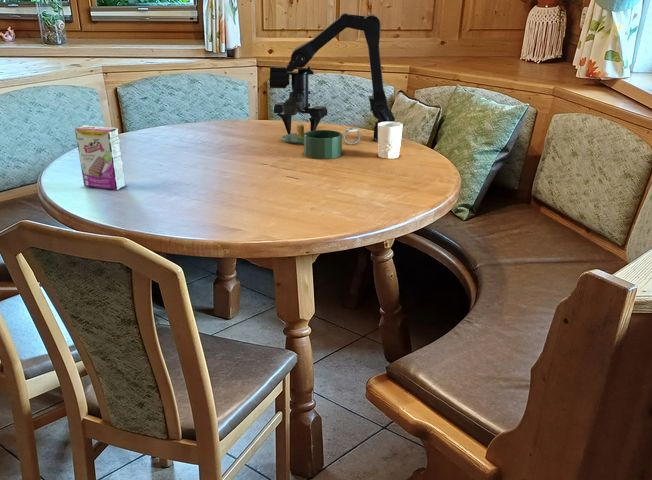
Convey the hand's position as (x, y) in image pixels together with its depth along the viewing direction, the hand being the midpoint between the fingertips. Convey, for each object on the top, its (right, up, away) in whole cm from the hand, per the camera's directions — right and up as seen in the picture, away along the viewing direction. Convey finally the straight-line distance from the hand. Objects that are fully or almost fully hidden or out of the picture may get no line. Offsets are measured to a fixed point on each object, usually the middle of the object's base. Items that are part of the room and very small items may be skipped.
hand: (300, 135), depth 254 cm
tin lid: (0, -1, 0) cm, 1 cm away
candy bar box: (-56, -30, -45) cm, 78 cm away
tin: (+7, -11, -16) cm, 21 cm away
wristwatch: (+18, -4, -4) cm, 19 cm away
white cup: (+29, -13, -18) cm, 36 cm away
